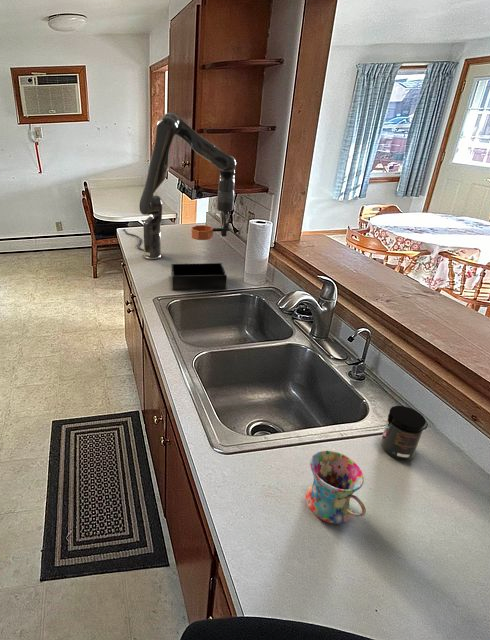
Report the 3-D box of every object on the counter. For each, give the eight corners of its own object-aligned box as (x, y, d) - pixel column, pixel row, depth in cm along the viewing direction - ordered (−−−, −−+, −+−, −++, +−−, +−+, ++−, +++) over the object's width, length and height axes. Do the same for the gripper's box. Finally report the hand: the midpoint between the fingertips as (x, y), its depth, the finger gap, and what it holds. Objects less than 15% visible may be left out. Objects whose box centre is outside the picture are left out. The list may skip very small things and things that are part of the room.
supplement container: (404, 439, 94) (415, 406, 90) (419, 463, 88) (432, 428, 84) (374, 438, 95) (384, 404, 91) (387, 461, 89) (398, 426, 85)
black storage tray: (171, 276, 188) (171, 263, 186) (220, 276, 187) (221, 263, 184) (172, 290, 175) (172, 276, 172) (225, 289, 173) (226, 275, 170)
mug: (293, 493, 83) (299, 457, 78) (329, 480, 85) (337, 445, 81) (335, 549, 72) (346, 511, 68) (375, 533, 75) (388, 495, 70)
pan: (192, 240, 185) (192, 231, 184) (190, 234, 194) (190, 225, 193) (230, 239, 184) (231, 230, 182) (226, 233, 193) (227, 224, 192)
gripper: (236, 203, 175) (234, 239, 182) (230, 196, 188) (228, 231, 195) (219, 203, 176) (218, 240, 183) (215, 197, 188) (213, 231, 195)
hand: (223, 235), depth 189 cm, fingers closed on pan
